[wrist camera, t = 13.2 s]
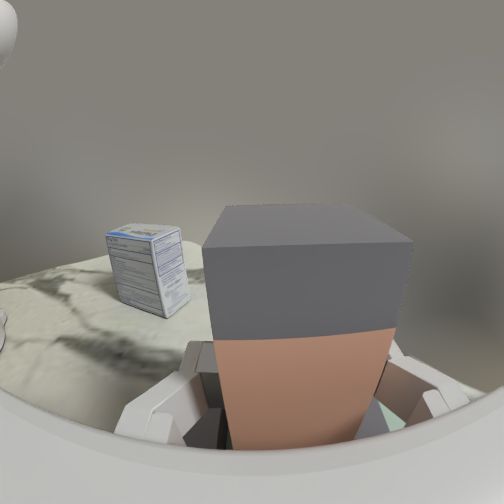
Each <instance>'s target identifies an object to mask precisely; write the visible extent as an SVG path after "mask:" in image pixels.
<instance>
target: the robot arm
mask: <svg viewBox="0 0 504 504" xmlns="http://www.w3.org/2000/svg"><path fill="white" fill-rule="evenodd" d="M17 25H18V23H17V16H16V13H15V11H14V9H13V7H12V6H11V5H10V4H9V3H7V2H6V1H4V0H0V70H1V68H2V67H3V65H4V64H5V62H6V61H7V59H8V57H9V55H10V53H11V51H12V49H13V46H14V43H15V40H16V36H17V29H18V28H17V27H18V26H17ZM6 318H7V315H6V313H5V311H4V310H3V309H0V350H1V348H2V346H3V343H4V339H5V331H4V323H5V321H6ZM373 396H374V398H376V399H377V400H378V401H379V402H380V403H382V404H383V405H384V406H385V407H387V408H388V409H389V410H390V411H391V412H393V413H394V414H395V415H396V416H398V417H399V418H400V419H401V420H402V421H404V422H405V423H406V424H405V426H404V427H403V428H402V429H398V430H395V431H391V432H388V433H384V434H380V435H376V436H372V437H367V438H363V439H358V440H353V441H347V442H342V443H336V444H329V445H322V446H314V447H305V448H294V449H280V450H220V449H205V448H194V447H187V446H186V444H185V442H184V440H183V438H182V437H183V436H184V435H185V434H186V433H187V432H188V431H189V430H190V429H191V428H192V426H193V425H194V424H195V423H196V422H197V421H198V420H199V419H200V418H201V417H202V416H203V415H204V413H205V412H206V411H207V410H208V408H225V405H224V400H223V395H222V389H221V384H220V378H219V372H218V366H217V360H216V354H215V347H214V341H190V342H189V343H188V345H187V348H186V351H185V354H184V357H183V360H182V363H181V366H180V369H179V371H174V372H173V373H171V374H170V375H169V376H167V377H166V378H164V379H163V380H162V381H160V382H159V383H157V384H156V385H155V386H153V387H152V388H150V389H149V390H147V391H146V392H144V393H143V394H142V395H140V396H139V397H137V398H136V399H134V400H133V401H131V402H130V403H128V404H127V405H125V408H124V410H123V412H122V415H121V417H120V419H119V422H118V424H117V426H116V429H115V431H114V433H111V432H108V431H104V430H101V429H97V428H94V427H91V426H87V425H84V424H81V423H78V422H76V421H73V420H70V419H67V418H65V417H62V416H59V415H57V414H54V413H52V412H49V411H47V410H45V409H42V408H40V407H38V406H36V405H33V404H31V403H29V402H27V401H25V400H23V399H21V398H19V397H17V396H15V395H13V394H11V393H9V392H8V391H6V390H4V389H2V388H1V387H0V504H504V385H503V386H501V387H499V388H498V389H496V390H494V391H492V392H490V393H488V394H486V395H484V396H482V397H480V398H478V399H476V400H474V401H472V402H470V401H469V399H468V398H467V396H466V395H465V393H464V392H463V390H462V389H461V387H460V386H459V384H458V383H457V381H456V380H454V379H452V378H450V377H448V376H446V375H444V374H442V373H440V372H438V371H436V370H434V369H432V368H430V367H428V366H426V365H424V364H422V363H420V362H418V361H416V360H414V359H412V358H410V357H409V356H406V357H404V355H403V354H402V352H401V351H400V349H399V347H398V346H397V344H396V343H395V341H394V340H392V344H391V347H390V350H389V353H388V356H387V359H386V362H385V365H384V368H383V371H382V374H381V377H380V379H379V382H378V385H377V387H376V390H375V392H374V395H373Z"/></svg>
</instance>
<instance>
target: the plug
mask: <svg viewBox="0 0 504 504" xmlns="http://www.w3.org/2000/svg"><path fill="white" fill-rule="evenodd" d="M413 243H414V242H413V241H412V240H410V239H409V238H407V237H406V236H404V235H402V234H401V233H399V232H398V231H396V230H394V229H393V228H391V227H389V226H388V225H386V224H384V223H383V222H381V221H380V220H378V219H376V218H374V217H373V216H371V215H369V214H368V213H366V212H364V211H362V210H361V209H359V208H357V207H355V206H353V205H352V204H266V205H265V204H263V205H236V206H226V207H225V209H224V210H223V212H222V213H221V215H220V217H219V219H218V220H217V222H216V224H215V226H214V227H213V229H212V231H211V233H210V234H209V236H208V238H207V239H206V241H205V243H204V245H203V247H202V256H203V265H204V274H205V282H206V290H207V298H208V306H209V313H210V320H211V327H212V334H213V341H214V347H215V354H216V360H217V366H218V372H219V378H220V384H221V389H222V395H223V400H224V405H225V411H226V416H227V421H228V426H229V431H230V436H231V440H232V445H233V450H280V449H294V448H305V447H314V446H322V445H329V444H336V443H342V442H347V441H353V440H354V438H355V436H356V434H357V432H358V429H359V427H360V425H361V423H362V421H363V419H364V416H365V414H366V412H367V409H368V407H369V405H370V402H371V400H372V397H373V395H374V392H375V390H376V387H377V385H378V382H379V379H380V377H381V374H382V371H383V368H384V365H385V362H386V359H387V356H388V353H389V350H390V347H391V344H392V340H393V337H394V333H395V330H396V326H397V322H398V319H399V315H400V311H401V307H402V303H403V298H404V294H405V289H406V284H407V279H408V274H409V269H410V263H411V257H412V251H413Z"/></svg>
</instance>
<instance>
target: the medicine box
mask: <svg viewBox="0 0 504 504" xmlns="http://www.w3.org/2000/svg"><path fill="white" fill-rule="evenodd" d="M105 237H106V243H107V247H108V253H109V257H110V261H111V266H112V270H113V275H114V279H115V283H116V287H117V290H118V294H119V297H120V301H121V302H123V303H126V304H129V305H131V306H134V307H137V308H140V309H142V310H145V311H148V312H151V313H154V314H157V315H160V316H162V317H165V318H169V317H170V316H171V315H173V314H174V313H175V312H176V311H178V310H179V309H180V308H181V307H182V306H183V305H185V304H186V303H187V302H189V301H190V300H191V298H190V292H189V286H188V280H187V274H186V268H185V261H184V254H183V247H182V239H181V232H180V228H179V227H176V226H165V225H151V224H134V223H132V224H128V225H126V226H122V227H120V228H117V229H115V230H113V231H111V232H109V233H107V234H106V235H105Z"/></svg>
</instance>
